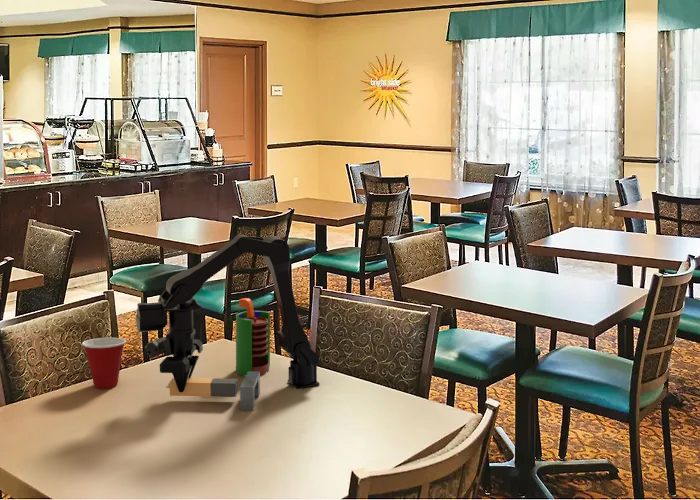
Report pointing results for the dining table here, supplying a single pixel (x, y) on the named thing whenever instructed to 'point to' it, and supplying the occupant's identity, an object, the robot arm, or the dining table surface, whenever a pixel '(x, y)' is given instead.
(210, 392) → the plug
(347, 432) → the dining table surface
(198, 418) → the dining table surface
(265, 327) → the green tall cylinder
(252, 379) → the housing
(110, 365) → the plastic cup
